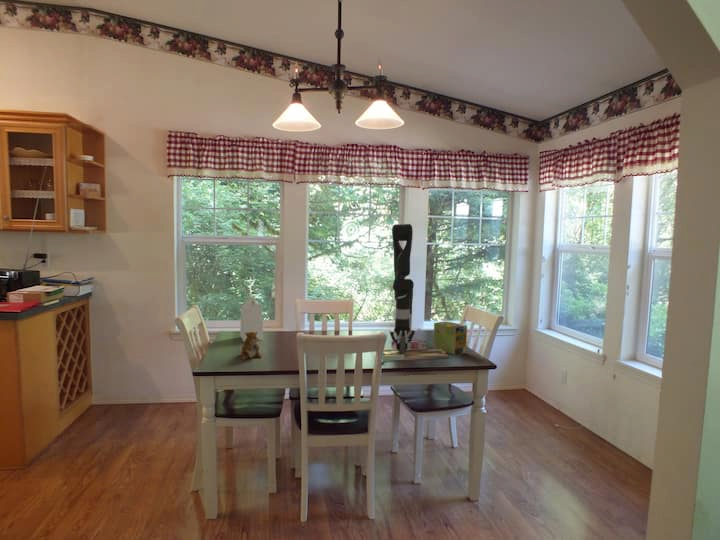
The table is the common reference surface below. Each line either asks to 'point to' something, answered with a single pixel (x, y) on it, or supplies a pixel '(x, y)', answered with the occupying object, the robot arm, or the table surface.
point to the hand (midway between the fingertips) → (401, 349)
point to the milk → (251, 319)
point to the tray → (392, 356)
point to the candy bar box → (413, 345)
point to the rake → (402, 345)
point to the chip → (395, 352)
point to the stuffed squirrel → (250, 346)
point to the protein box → (450, 337)
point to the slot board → (425, 354)
